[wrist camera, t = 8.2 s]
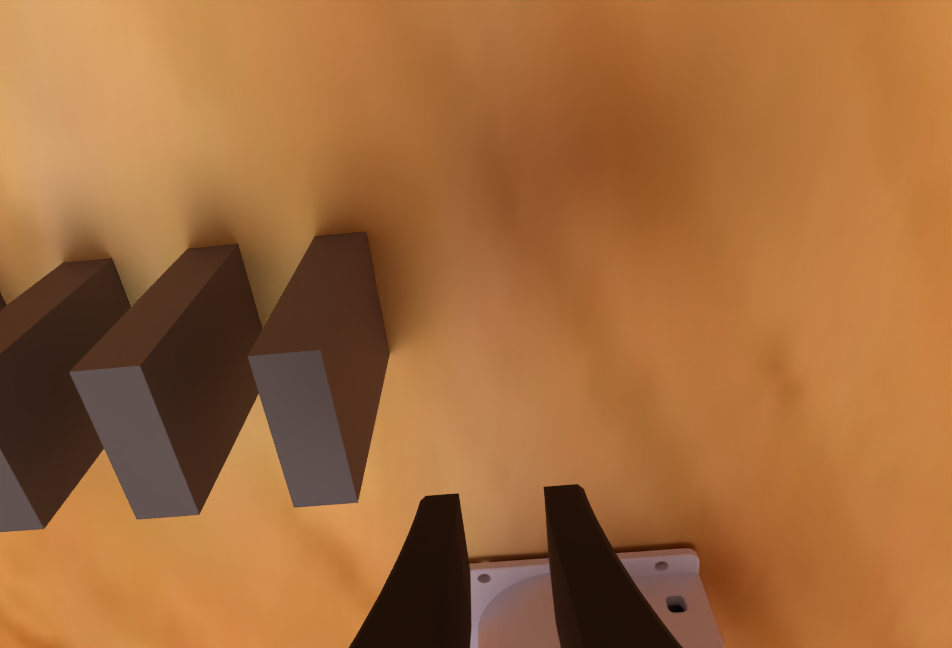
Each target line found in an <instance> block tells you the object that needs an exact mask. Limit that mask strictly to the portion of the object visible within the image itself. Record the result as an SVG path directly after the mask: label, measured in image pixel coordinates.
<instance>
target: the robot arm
mask: <svg viewBox="0 0 952 648" xmlns="http://www.w3.org/2000/svg"><path fill="white" fill-rule="evenodd" d="M544 496H545V511H546V525H547V539H548V553H549V558H542V559H528V560H514V561H500V562H486V563H472V564H469V559H468V553H467V546H466V539H465V533H464V526H463V519H462V513H461V506H460V499H459V493H458V494H445V495H432V496H425V497H424V498H423V499H422V500H421V501H420V504H419V507H418V510H417V513H416V516H415V518H414V521H413V524H412V526H411V529H410V531H409V534H408V536H407V538H406V541H405V543H404V545H403V547H402V550H401V552H400V554H399V556H398V559H397V561H396V563H395V565H394V567H393V569H392V571H391V573H390V575H389V577H388V579H387V581H386V583H385V585H384V587H383V589H382V591H381V593H380V595H379V596H378V598H377V600H376V602H375V604H374V605H373V607H372V609H371V611H370V612H369V614H368V616H367V618H366V619H365V621H364V623H363V625H362V626H361V628H360V630H359V632H358V634H357V635H356V637H355V638H354V640H353V642H352V643H351V645H350V647H349V648H725V645H724V643H723V640H722V637H721V634H720V631H719V629H718V626H717V623H716V620H715V617H714V615H713V612H712V609H711V606H710V603H709V600H708V598H707V595H706V592H705V589H704V586H703V584H702V581H701V578H700V575H699V566H700V561H699V557H698V555H697V553H696V552H695V551H694V550H692V549H689V548H682V549H668V550H654V551H640V552H626V553H615V551H614V549H613V548H612V546H611V544H610V542H609V541H608V539H607V537H606V535H605V533H604V532H603V530H602V528H601V526H600V524H599V522H598V520H597V518H596V516H595V514H594V512H593V510H592V508H591V506H590V504H589V501H588V499H587V496H586V494H585V491H584V489H583V488H582V487H581V486H579V485H578V484H575V485H562V486H549V487H544ZM661 561H663V562H661ZM658 562H661V563H658ZM481 574H487V575H481Z"/></svg>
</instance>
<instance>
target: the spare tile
mask: <svg viewBox="0 0 952 648" xmlns="http://www.w3.org/2000/svg"><path fill="white" fill-rule="evenodd" d="M130 308H131V306H130V304H129V301H128V299H127V296H126V293H125V291H124V288H123V286H122V283H121V280H120V278H119V275H118V273H117V270H116V267H115V265H114V262H113V260H112V259H102V260H91V261H80V262H69V263H62V264H61V265H59V266H58V267H57V268H55V269H54V270H53V271H51V272H50V273H49V274H47V275H46V276H45V277H44V278H42V279H41V280H40V281H38V282H37V283H36V284H34V285H33V286H32V287H30V288H29V289H28V290H26V291H25V292H24V293H22V294H21V295H20V296H19V297H17V298H16V299H15V300H13V301H12V302H11V303H9V304H8V305H7V306H5V307H4V308H3V309H1V310H0V532H9V531H22V530H36V529H44V528H45V527H46V526H47V524H48V523H49V522H50V520H51V519H52V518H53V516H54V515H55V514H56V512H57V511H58V510H59V508H60V507H61V505H62V504H63V503H64V501H65V500H66V499H67V497H68V496H69V495H70V493H71V492H72V491H73V489H74V488H75V487H76V485H77V484H78V483H79V481H80V480H81V479H82V477H83V476H84V475H85V473H86V472H87V471H88V469H89V468H90V467H91V465H92V464H93V463H94V461H95V460H96V459H97V457H98V456H99V454H100V453H101V452H102V450H103V449H104V447H103V445H102V443H101V440H100V438H99V436H98V434H97V432H96V429H95V427H94V425H93V423H92V421H91V419H90V416H89V414H88V412H87V410H86V408H85V405H84V403H83V401H82V399H81V397H80V395H79V392H78V390H77V388H76V386H75V384H74V382H73V379H72V377H71V375H70V373H69V371H70V370H71V369H72V368H73V367H74V366H75V365H76V364H77V363H78V362H79V361H80V360H81V359H82V358H83V357H84V356H85V355H86V354H87V353H88V352H89V351H90V350H91V349H92V348H93V347H94V345H95V344H96V343H97V342H98V341H99V340H100V339H101V338H102V337H103V336H104V335H105V334H106V333H107V332H108V331H109V330H110V329H111V328H112V327H113V326H114V325H115V324H116V323H117V322H118V321H119V319H120V318H121V317H122V316H123V315H124V314H125V313H126V312H127V311H128V310H129V309H130Z"/></svg>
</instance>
